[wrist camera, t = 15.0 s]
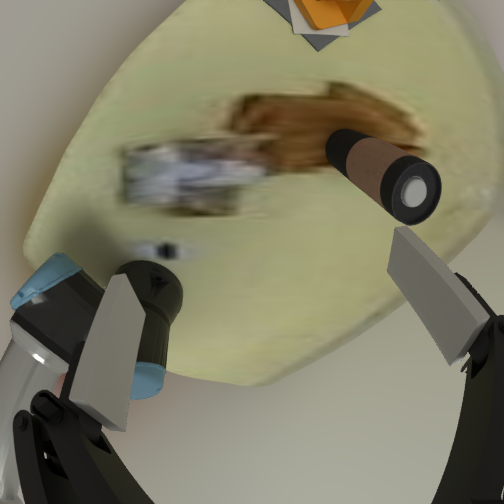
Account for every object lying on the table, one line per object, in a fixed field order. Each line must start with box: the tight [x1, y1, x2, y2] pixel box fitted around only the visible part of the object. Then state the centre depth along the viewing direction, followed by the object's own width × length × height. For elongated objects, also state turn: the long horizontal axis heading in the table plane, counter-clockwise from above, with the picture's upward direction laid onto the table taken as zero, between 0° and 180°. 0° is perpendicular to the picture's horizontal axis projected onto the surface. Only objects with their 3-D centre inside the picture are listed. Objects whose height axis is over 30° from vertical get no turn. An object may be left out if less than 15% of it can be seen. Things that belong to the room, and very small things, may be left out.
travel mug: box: [326, 129, 442, 226], centre depth 33 cm, size 8×8×20 cm
